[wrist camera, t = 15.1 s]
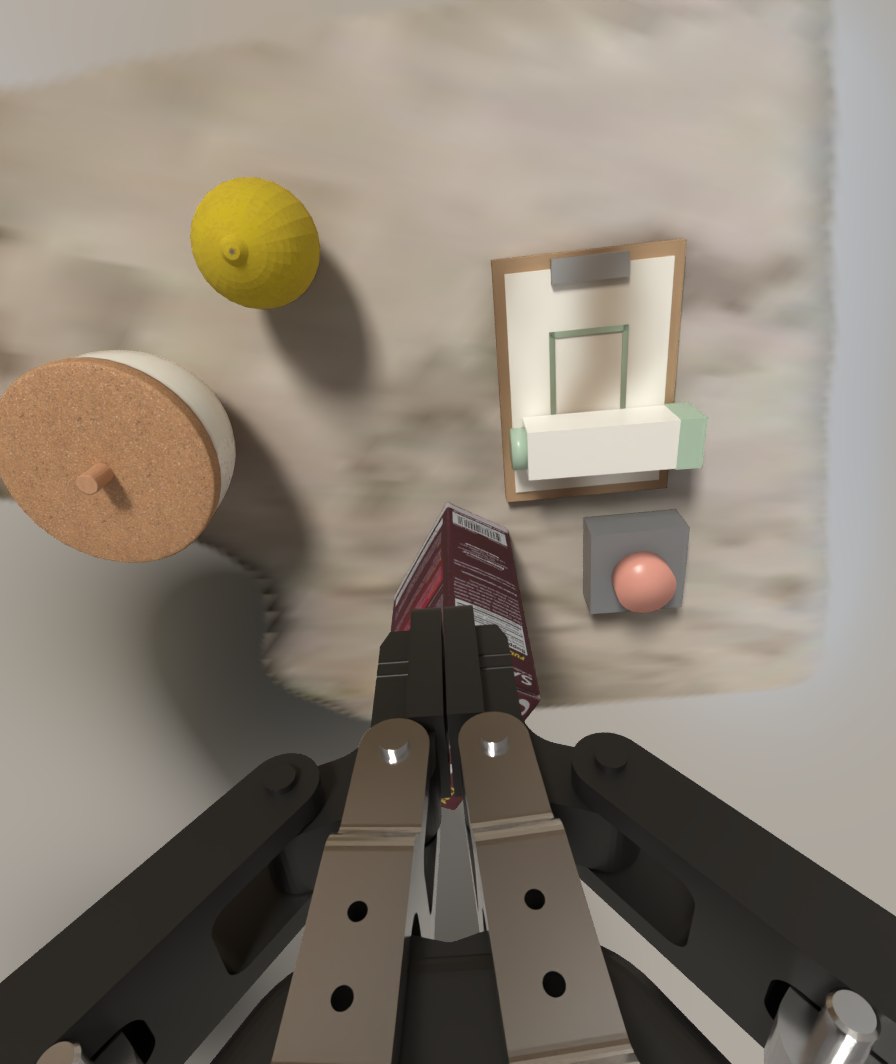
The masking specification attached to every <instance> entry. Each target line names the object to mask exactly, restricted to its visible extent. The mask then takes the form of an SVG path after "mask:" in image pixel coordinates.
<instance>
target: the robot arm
mask: <svg viewBox="0 0 896 1064" xmlns="http://www.w3.org/2000/svg"><path fill="white" fill-rule="evenodd" d="M443 615H444V635H443V624H442V613H441V607H436V608H422V609H411V619H410V630H407V631H393V632H390V633H389V635H388V636H387V637H386V639H385V640H384V642H383V643H382V644H381V646H380V653H379V661H378V663H379V665H378V670H377V679H376V687H375V696H374V704H373V713H372V722H371V728H370V729H369V730H368V731H367V732H366V733H365V734H364V735H363V737H362V739H361V741H360V744H359V747H358V748H357V749H356V750H354V751H353V752H351V753H350V754H348V755H346V756H345V757H342V758H340V759H337V760H335V761H332V762H328V763H326V764H323V765H320V766H317V765H316V764H315V762H314V761H313V760H312V759H311V758H309V757H307V756H305V755H302V754H296V753H288V754H282V755H279V756H275V757H273V758H270V759H268V760H267V761H265V762H263V763H262V764H261V765H259V766H258V767H257V768H256V769H254V770H253V771H252V772H251V773H250V774H248V775H247V776H246V777H245V778H244V779H242V780H241V781H240V782H239V783H238V784H236V785H235V786H234V787H233V788H232V789H231V790H229V791H228V792H227V793H226V794H225V795H224V796H222V797H221V798H220V799H219V800H218V801H216V802H215V803H214V804H213V805H211V806H210V807H209V808H208V809H207V810H206V811H204V812H203V813H202V814H201V815H200V816H198V817H197V818H196V819H195V820H194V821H193V822H191V823H190V824H189V825H188V826H187V827H185V828H184V829H183V830H182V831H181V832H179V833H178V834H177V835H176V836H175V837H173V838H172V839H171V840H170V841H169V842H168V843H167V844H165V845H164V846H163V847H162V848H160V849H159V850H158V851H157V852H156V853H154V854H153V855H152V856H151V857H150V858H148V859H147V860H146V861H145V862H144V863H143V864H142V865H140V866H139V867H138V868H137V869H136V870H134V871H133V872H132V873H131V874H129V875H128V876H127V877H126V878H125V879H124V880H122V881H121V882H120V883H119V884H118V885H116V886H115V887H114V888H113V889H112V890H110V891H109V892H108V893H107V894H106V895H104V896H103V897H102V898H101V899H100V900H98V901H97V902H96V903H95V904H94V905H93V906H91V907H90V908H89V909H88V910H87V911H85V912H84V913H83V914H82V915H81V916H79V917H78V918H77V919H76V920H75V921H74V922H72V923H71V924H70V925H69V926H68V927H66V928H65V929H64V930H63V931H62V932H61V933H60V934H58V935H57V936H56V937H55V938H53V939H52V940H51V941H50V942H49V943H47V944H46V945H45V946H44V947H43V948H41V949H40V950H39V951H38V952H37V953H35V954H34V955H33V956H32V957H31V958H30V959H28V960H27V961H26V962H25V963H24V964H23V965H21V966H20V967H19V968H18V969H17V970H15V971H14V972H13V973H12V974H10V975H9V976H8V977H7V978H6V979H5V980H3V981H2V982H1V983H0V1064H184V1063H185V1061H186V1060H187V1059H188V1058H189V1057H190V1056H191V1055H192V1053H193V1052H194V1051H195V1050H196V1049H197V1048H198V1047H199V1045H200V1044H201V1043H202V1042H203V1041H204V1040H205V1039H206V1037H207V1036H208V1035H209V1034H210V1033H211V1032H212V1031H213V1029H214V1028H215V1027H216V1026H217V1025H218V1024H219V1023H220V1021H221V1020H222V1019H223V1018H224V1017H225V1016H226V1014H227V1013H228V1012H229V1011H230V1010H231V1009H232V1008H233V1007H234V1005H235V1004H236V1003H237V1002H238V1001H239V1000H240V999H241V997H242V996H243V995H244V994H245V993H246V992H247V991H248V989H249V988H250V987H251V986H252V985H253V984H254V983H255V981H256V980H257V979H258V978H259V977H260V976H261V974H262V973H263V972H264V971H265V970H266V969H267V967H269V965H270V964H271V963H272V962H273V961H274V960H275V959H276V957H277V956H278V955H279V954H280V953H281V952H282V951H283V949H284V948H285V947H286V946H287V945H288V944H289V942H290V941H291V940H292V939H293V938H294V937H295V935H296V934H297V933H298V932H299V931H300V930H301V929H302V927H303V926H304V925H305V928H304V932H303V936H302V940H301V944H300V948H299V952H298V956H297V960H296V964H295V968H294V972H292V973H291V974H289V975H288V976H287V977H286V978H284V979H283V980H282V981H281V982H280V983H278V984H277V985H276V986H275V987H274V988H273V989H272V990H271V991H270V992H269V993H268V994H267V995H266V996H265V997H264V998H263V999H262V1000H261V1001H260V1002H259V1003H258V1004H257V1006H256V1007H255V1008H254V1009H253V1011H252V1012H251V1013H250V1014H249V1015H248V1017H247V1018H246V1019H245V1021H244V1022H243V1023H242V1024H241V1025H240V1027H239V1028H238V1029H237V1031H236V1032H235V1033H234V1034H233V1035H232V1037H231V1038H230V1039H229V1040H228V1042H227V1043H226V1044H225V1046H224V1047H223V1048H222V1049H221V1051H220V1052H219V1053H218V1054H217V1055H216V1057H215V1058H214V1059H213V1060H212V1062H211V1063H210V1064H731V1063H730V1062H729V1061H728V1060H727V1059H726V1058H725V1056H724V1055H723V1054H722V1053H721V1052H720V1051H719V1050H718V1049H717V1048H716V1047H715V1046H714V1045H713V1044H712V1043H711V1042H710V1041H709V1040H708V1039H707V1038H706V1037H705V1036H704V1035H703V1034H702V1033H701V1032H700V1031H699V1030H698V1029H697V1027H696V1026H695V1025H694V1024H693V1023H692V1022H691V1021H690V1020H689V1019H688V1018H687V1017H686V1016H685V1015H684V1014H683V1013H682V1012H681V1011H680V1010H679V1009H678V1008H677V1007H676V1006H675V1005H674V1004H673V1003H672V1002H671V1001H670V1000H669V999H668V998H667V997H666V996H665V995H664V993H663V992H662V991H661V990H660V989H659V988H658V987H657V986H656V985H655V984H654V983H653V982H652V981H651V980H650V979H649V978H648V977H647V976H646V975H645V974H644V973H642V972H641V971H640V970H639V969H637V968H636V967H635V966H634V965H633V964H631V963H630V962H629V961H627V960H626V959H624V958H622V957H621V956H619V955H618V954H616V953H615V952H612V951H611V950H609V949H607V948H605V947H603V946H601V945H600V944H599V941H598V937H597V934H596V931H595V927H594V924H593V921H592V918H591V914H590V911H589V908H588V904H587V901H586V898H585V895H584V891H583V888H582V885H581V881H580V879H581V880H582V881H583V882H584V883H586V884H587V885H588V886H589V887H590V888H591V889H592V890H593V891H594V892H595V893H596V894H597V895H598V896H600V897H601V898H602V899H603V900H604V901H605V902H606V903H607V904H608V905H609V906H610V907H612V908H613V909H614V910H615V911H616V912H617V913H618V914H619V915H620V916H621V917H622V918H623V919H625V920H626V921H627V922H628V923H629V924H630V925H631V926H632V927H633V928H634V929H635V930H636V931H637V932H639V933H640V934H641V935H642V936H643V937H644V938H645V939H646V940H647V941H648V942H649V943H650V944H652V945H653V946H654V947H655V948H656V949H657V950H658V951H659V952H660V953H661V954H663V956H664V957H666V958H667V959H668V960H669V961H670V962H671V963H672V964H673V965H674V966H675V967H677V969H679V970H680V971H681V972H682V973H683V974H684V975H685V976H686V977H687V978H688V979H689V980H690V981H692V982H693V983H694V984H695V985H696V986H697V987H698V988H699V989H700V990H701V991H702V992H704V993H705V994H706V995H707V996H708V997H709V998H710V999H711V1000H712V1001H713V1002H714V1003H715V1004H716V1005H718V1006H719V1007H720V1008H721V1009H722V1010H723V1011H724V1012H725V1013H726V1014H727V1015H728V1016H729V1017H731V1018H732V1019H733V1020H734V1021H735V1022H736V1023H737V1024H738V1025H739V1026H740V1027H741V1028H742V1029H744V1030H745V1031H746V1032H747V1033H748V1034H749V1035H750V1036H751V1037H752V1038H753V1039H754V1040H756V1041H757V1042H758V1043H759V1044H760V1045H761V1046H762V1047H763V1048H764V1064H896V916H894V915H893V914H891V913H890V912H888V911H887V910H885V909H884V908H882V907H881V906H879V905H878V904H876V903H875V902H873V901H872V900H870V899H869V898H867V897H866V896H864V895H863V894H861V893H860V892H858V891H857V890H855V889H854V888H852V887H851V886H849V885H848V884H846V883H845V882H843V881H842V880H840V879H839V878H837V877H836V876H834V875H833V874H831V873H830V872H828V871H827V870H825V869H824V868H822V867H821V866H819V865H818V864H816V863H815V862H813V861H812V860H810V859H809V858H807V857H806V856H804V855H803V854H801V853H800V852H798V851H797V850H795V849H794V848H792V847H791V846H789V845H788V844H786V843H785V842H783V841H782V840H780V839H779V838H777V837H776V836H774V835H773V834H771V833H770V832H768V831H767V830H765V829H764V828H762V827H761V826H759V825H758V824H756V823H755V822H753V821H752V820H750V819H749V818H747V817H746V816H744V815H743V814H741V813H740V812H738V811H737V810H735V809H734V808H732V807H731V806H729V805H728V804H726V803H725V802H723V801H722V800H720V799H719V798H717V797H716V796H714V795H713V794H711V793H710V792H708V791H707V790H705V789H704V788H702V787H701V786H699V785H698V784H696V783H695V782H693V781H692V780H690V779H689V778H687V777H686V776H684V775H683V774H681V773H680V772H678V771H677V770H675V769H674V768H672V767H671V766H669V765H668V764H666V763H665V762H663V761H662V760H660V759H659V758H657V757H656V756H654V755H653V754H651V753H650V752H648V751H647V750H645V749H644V748H642V747H641V746H639V745H637V744H636V743H635V742H633V741H632V740H630V739H628V738H626V737H624V736H621V735H617V734H614V733H595V734H591V735H589V736H586V737H584V738H583V739H581V740H580V741H579V742H578V743H577V744H576V746H575V747H571V746H566V745H561V744H556V743H553V742H549V741H547V740H544V739H542V738H540V737H539V736H537V735H536V734H535V733H533V732H532V731H531V730H530V729H529V728H528V726H527V725H526V724H525V722H524V720H523V717H522V713H521V708H520V702H519V697H518V692H517V686H516V681H515V675H514V670H513V665H512V659H511V655H510V648H509V643H508V638H507V636H506V635H505V634H504V632H503V631H502V630H501V629H500V628H499V627H498V626H497V624H489V625H475V620H474V611H473V605H462V606H448V607H443ZM444 644H445V646H444ZM449 742H450V745H449ZM450 753H451V764H452V774H453V785H454V796H455V797H463V803H464V815H465V827H466V837H467V844H468V851H469V857H470V865H471V872H472V879H473V886H474V893H475V900H476V907H477V915H478V922H479V930H480V933H477V934H475V935H472V936H469V937H466V938H463V939H460V940H458V941H454V942H442V941H438V940H434V925H435V908H436V907H435V906H436V893H437V877H438V862H439V846H440V824H441V798H451V772H450Z"/></svg>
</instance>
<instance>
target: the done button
mask: <svg viewBox="0 0 896 1064" xmlns="http://www.w3.org/2000/svg"><path fill="white" fill-rule="evenodd" d="M611 582H612V586H613V588H614V590H615V593H616V595H617V597H618V600H619V602H620V603H621V604H622V606H624V607H625V608H626V609H628V610H630V611H633V612H637V613H647V612H652V611H655V610H658V609H660V608H661V607H663V606H664V605H666V604H667V603H668V602H669V601H670V600H671V599H672V597H673V595H674V593H675V591H676V579H675V576H674V574H673V573H672V571H671V570H670V568H669V566H668V565H667V563H666V561H665V560H664V559H663V558H662V557H661V556H659V555H658V554H656V553H653V552H647V551H641V552H635V553H632V554H629V555H627V556H626V557H624V558H623V559H621V560H620V561H619V562H618V563H617V564H616V566H615V567H614V569H613V571H612V575H611Z"/></svg>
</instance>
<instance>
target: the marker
mask: <svg viewBox="0 0 896 1064" xmlns="http://www.w3.org/2000/svg"><path fill="white" fill-rule="evenodd" d="M707 420H708V417H707V416H706V415H704V414H703V413H702V412H701V411H699V410H698V409H697V408H696V407H694V406H693V405H692V404H691V403H689V402H682V403H670V404H664V405H660V406H648V407H637V408H625V409H613V410H602V411H590V412H579V413H567V414H555V415H544V416H532V417H522V428H510V430H509V442H510V457H511V465H512V470H525V469H526V473H527V476H528V480H542V479H554V478H566V477H579V476H591V475H603V474H616V473H628V472H640V471H653V470H665V469H676V470H680V469H692V468H702V462H703V453H704V445H705V437H706V429H707Z"/></svg>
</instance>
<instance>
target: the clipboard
mask: <svg viewBox="0 0 896 1064" xmlns="http://www.w3.org/2000/svg"><path fill="white" fill-rule="evenodd" d="M686 240H687V239H675V240H666V241H657V242H648V243H639V244H630V245H621V246H612V247H603V248H594V249H585V250H576V251H567V252H558V253H550V254H541V255H532V256H523V257H514V258H505V259H496V260H491V267H492V283H493V299H494V315H495V331H496V348H497V364H498V380H499V396H500V412H501V429H502V445H503V461H504V477H505V493H506V501H507V502H515V501H527V500H538V499H549V498H560V497H571V496H582V495H593V494H604V493H615V492H626V491H637V490H648V489H659V488H667V480H668V469H665V470H653V471H640V472H628V473H616V474H603V475H591V476H579V477H566V478H554V479H542V480H528V476H527V473H526V469H525V470H512V465H511V457H510V442H509V430H510V428H522V417H532V416H544V415H555V414H567V413H579V412H590V411H602V410H613V409H625V408H637V407H648V406H660V405H664V404H670V403H674V391H675V379H676V366H677V354H678V341H679V329H680V316H681V303H682V291H683V278H684V266H685V253H686Z"/></svg>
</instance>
